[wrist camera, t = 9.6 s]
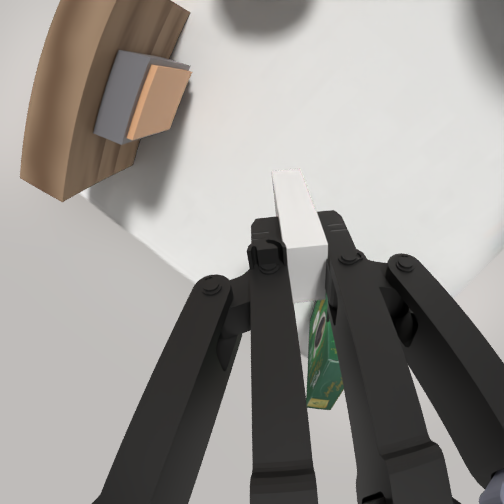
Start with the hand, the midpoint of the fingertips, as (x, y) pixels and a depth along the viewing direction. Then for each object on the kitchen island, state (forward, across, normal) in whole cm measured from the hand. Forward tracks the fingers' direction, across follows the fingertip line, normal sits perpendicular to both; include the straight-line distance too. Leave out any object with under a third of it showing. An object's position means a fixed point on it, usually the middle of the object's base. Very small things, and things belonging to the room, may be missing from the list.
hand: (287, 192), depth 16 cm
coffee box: (+10, +5, -20) cm, 23 cm away
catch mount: (+18, -13, +7) cm, 23 cm away
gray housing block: (+16, -12, +6) cm, 20 cm away
